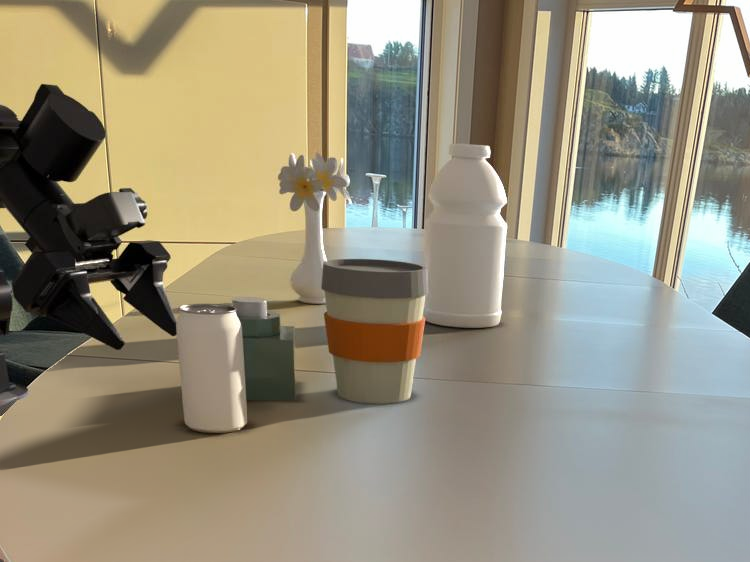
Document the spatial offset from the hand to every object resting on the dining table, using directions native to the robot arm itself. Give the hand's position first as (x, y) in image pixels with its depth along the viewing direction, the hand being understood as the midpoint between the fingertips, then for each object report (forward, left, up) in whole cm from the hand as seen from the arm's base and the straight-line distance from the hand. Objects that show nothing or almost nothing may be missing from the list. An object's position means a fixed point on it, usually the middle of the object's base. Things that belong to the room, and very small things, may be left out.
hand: (150, 340), depth 99 cm
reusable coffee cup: (+19, +19, -8) cm, 28 cm away
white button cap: (+5, +15, +1) cm, 16 cm away
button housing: (+5, +15, -8) cm, 17 cm away
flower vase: (-9, +85, -8) cm, 85 cm away
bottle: (+20, +77, -8) cm, 80 cm away
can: (+7, -1, -8) cm, 11 cm away
